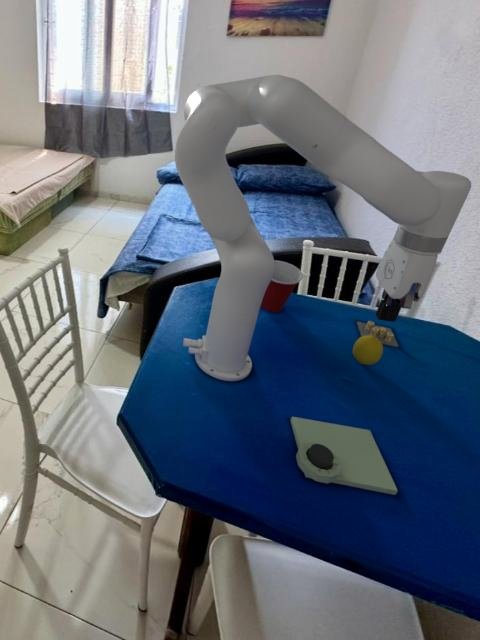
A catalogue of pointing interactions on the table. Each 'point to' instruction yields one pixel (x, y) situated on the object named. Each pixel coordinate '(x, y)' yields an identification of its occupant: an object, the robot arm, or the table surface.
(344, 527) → the table surface
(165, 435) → the table surface
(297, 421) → the scale
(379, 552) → the table surface
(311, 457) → the button
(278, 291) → the plastic cup
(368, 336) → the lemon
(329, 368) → the table surface
